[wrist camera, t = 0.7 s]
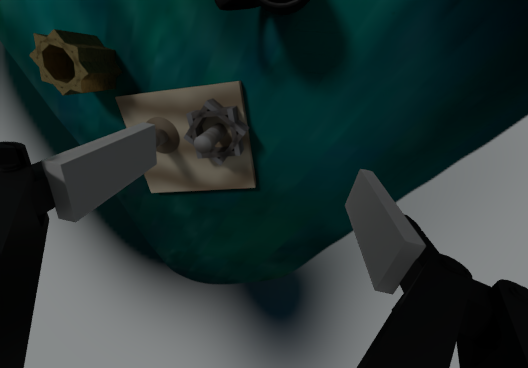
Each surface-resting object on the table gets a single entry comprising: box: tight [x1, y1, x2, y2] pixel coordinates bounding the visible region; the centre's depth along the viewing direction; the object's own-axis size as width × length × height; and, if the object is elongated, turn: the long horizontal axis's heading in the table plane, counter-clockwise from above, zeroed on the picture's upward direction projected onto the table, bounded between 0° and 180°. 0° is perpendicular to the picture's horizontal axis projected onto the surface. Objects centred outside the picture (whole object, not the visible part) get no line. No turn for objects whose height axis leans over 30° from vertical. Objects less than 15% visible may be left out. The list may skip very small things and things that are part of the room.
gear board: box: [115, 81, 256, 193], centre depth 37 cm, size 18×22×10 cm
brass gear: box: [29, 29, 123, 95], centre depth 34 cm, size 8×8×7 cm
